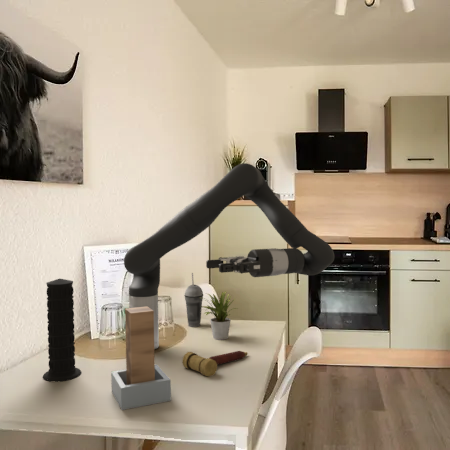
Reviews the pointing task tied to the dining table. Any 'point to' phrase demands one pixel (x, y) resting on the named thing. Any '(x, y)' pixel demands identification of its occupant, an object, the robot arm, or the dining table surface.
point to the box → (140, 390)
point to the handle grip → (61, 331)
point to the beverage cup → (193, 304)
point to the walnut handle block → (139, 345)
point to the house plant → (219, 317)
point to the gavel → (209, 361)
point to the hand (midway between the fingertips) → (213, 266)
